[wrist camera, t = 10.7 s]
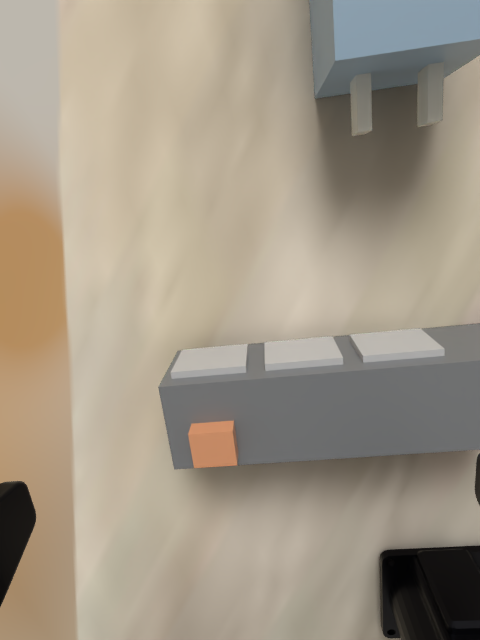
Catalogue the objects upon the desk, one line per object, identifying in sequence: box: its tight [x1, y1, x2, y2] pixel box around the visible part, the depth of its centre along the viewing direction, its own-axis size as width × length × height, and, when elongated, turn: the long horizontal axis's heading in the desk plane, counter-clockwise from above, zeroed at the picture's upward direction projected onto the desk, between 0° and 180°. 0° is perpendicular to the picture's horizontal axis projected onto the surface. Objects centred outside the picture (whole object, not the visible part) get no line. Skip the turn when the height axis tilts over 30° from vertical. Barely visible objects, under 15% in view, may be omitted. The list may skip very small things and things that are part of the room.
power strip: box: [158, 324, 480, 469], centre depth 18 cm, size 4×15×5 cm, turn 97°
